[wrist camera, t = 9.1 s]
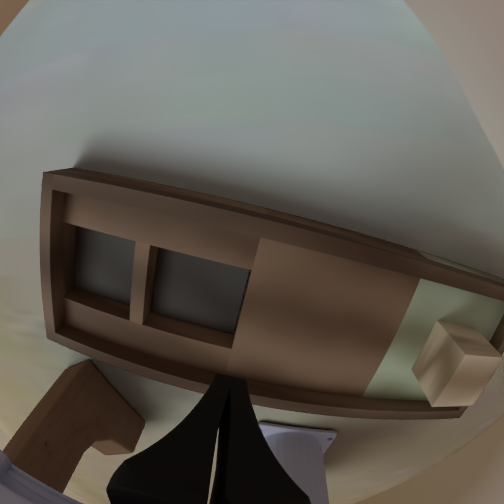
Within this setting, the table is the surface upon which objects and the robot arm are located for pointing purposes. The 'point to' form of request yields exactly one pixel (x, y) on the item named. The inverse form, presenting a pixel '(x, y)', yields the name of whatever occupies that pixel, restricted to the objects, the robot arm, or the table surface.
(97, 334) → the track
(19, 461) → the wooden block
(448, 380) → the maple block
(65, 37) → the table surface
